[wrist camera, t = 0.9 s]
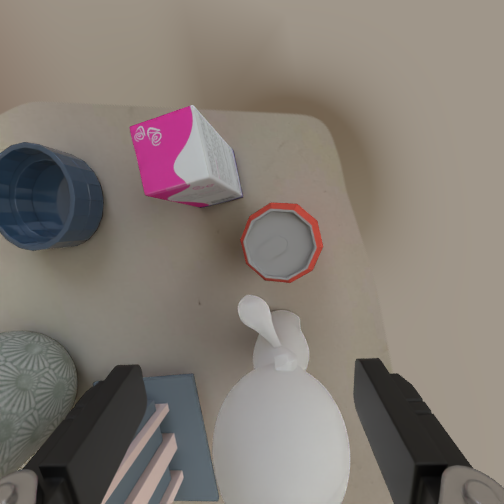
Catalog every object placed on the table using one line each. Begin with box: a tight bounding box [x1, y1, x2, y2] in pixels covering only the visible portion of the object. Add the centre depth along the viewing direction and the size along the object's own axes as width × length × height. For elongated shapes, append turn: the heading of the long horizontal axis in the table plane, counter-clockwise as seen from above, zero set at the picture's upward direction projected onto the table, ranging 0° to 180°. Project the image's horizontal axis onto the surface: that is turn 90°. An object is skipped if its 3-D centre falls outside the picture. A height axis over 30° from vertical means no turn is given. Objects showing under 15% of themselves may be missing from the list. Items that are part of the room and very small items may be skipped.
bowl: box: [0, 142, 104, 251], centre depth 32 cm, size 12×12×5 cm
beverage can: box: [240, 203, 323, 283], centre depth 24 cm, size 6×6×12 cm
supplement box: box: [130, 105, 243, 208], centre depth 25 cm, size 6×6×12 cm
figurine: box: [212, 295, 350, 504], centre depth 22 cm, size 16×8×20 cm, turn 10°
